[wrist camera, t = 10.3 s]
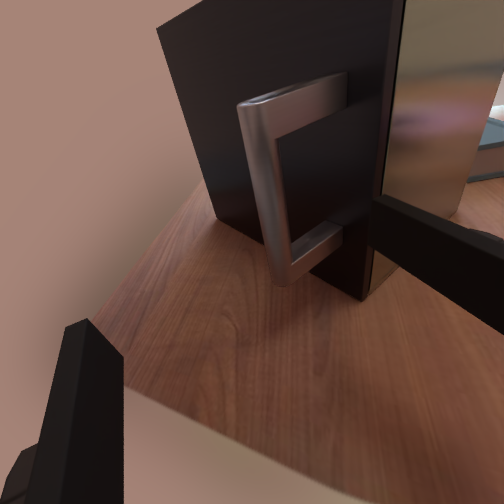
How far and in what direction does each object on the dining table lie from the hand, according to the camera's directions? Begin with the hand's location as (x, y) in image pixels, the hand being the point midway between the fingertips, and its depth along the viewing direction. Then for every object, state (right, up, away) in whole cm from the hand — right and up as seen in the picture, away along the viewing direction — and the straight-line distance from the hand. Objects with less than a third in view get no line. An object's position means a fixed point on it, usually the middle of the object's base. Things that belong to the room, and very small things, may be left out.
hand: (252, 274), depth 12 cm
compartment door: (0, 0, +19) cm, 19 cm away
